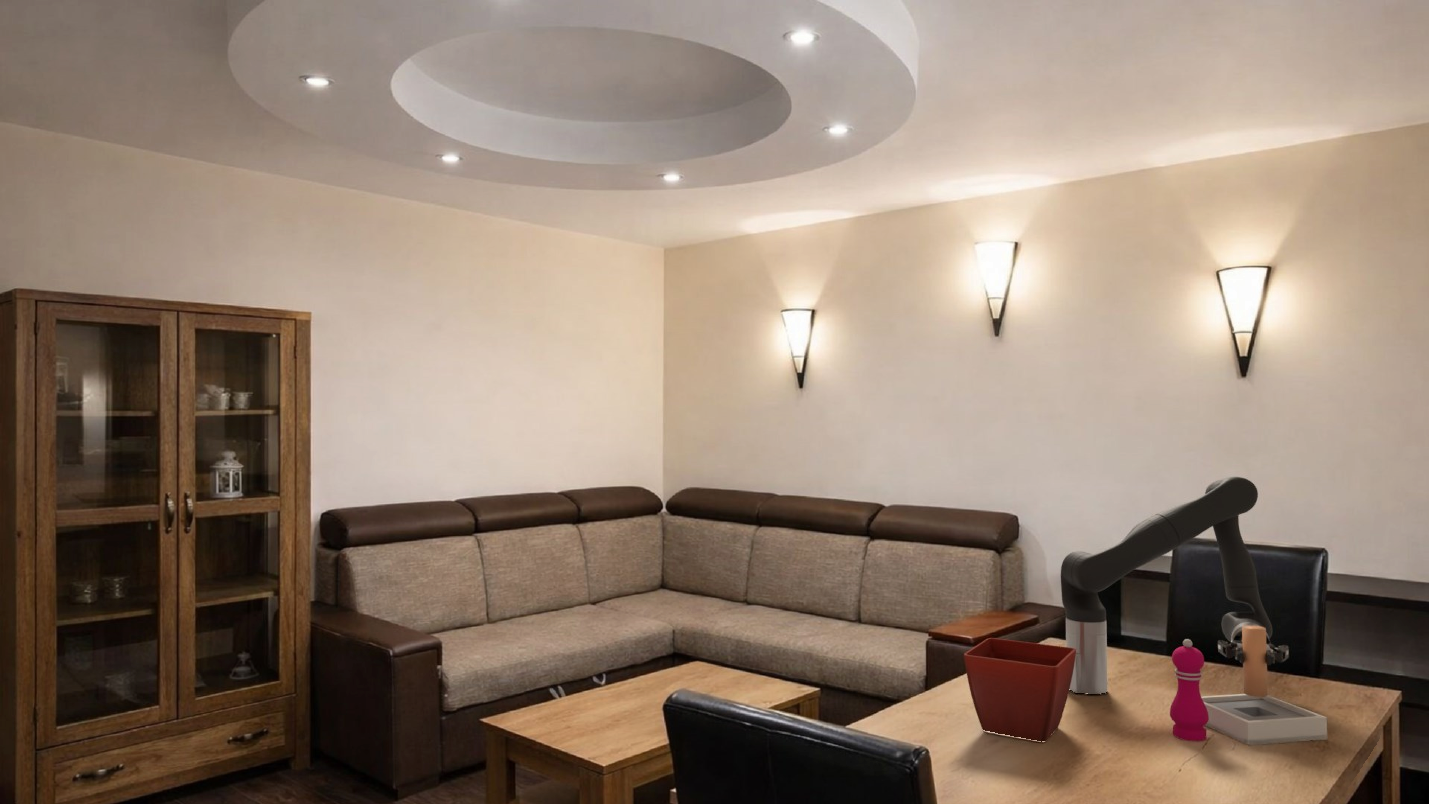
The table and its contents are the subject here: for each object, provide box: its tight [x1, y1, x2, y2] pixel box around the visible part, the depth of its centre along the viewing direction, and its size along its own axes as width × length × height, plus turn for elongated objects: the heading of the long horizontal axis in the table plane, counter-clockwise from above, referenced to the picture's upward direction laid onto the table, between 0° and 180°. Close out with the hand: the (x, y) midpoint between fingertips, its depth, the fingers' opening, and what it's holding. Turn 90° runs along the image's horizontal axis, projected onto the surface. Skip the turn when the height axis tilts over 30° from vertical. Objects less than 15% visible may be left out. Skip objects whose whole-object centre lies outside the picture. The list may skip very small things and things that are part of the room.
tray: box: [1201, 693, 1328, 746], centre depth 201 cm, size 18×18×4 cm
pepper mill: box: [1169, 638, 1209, 742], centre depth 196 cm, size 7×7×20 cm
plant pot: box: [963, 637, 1076, 742], centre depth 201 cm, size 19×19×17 cm
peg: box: [1242, 625, 1269, 697], centre depth 201 cm, size 4×4×14 cm
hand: (1255, 659), depth 199 cm, fingers closed on peg, 4 cm apart
